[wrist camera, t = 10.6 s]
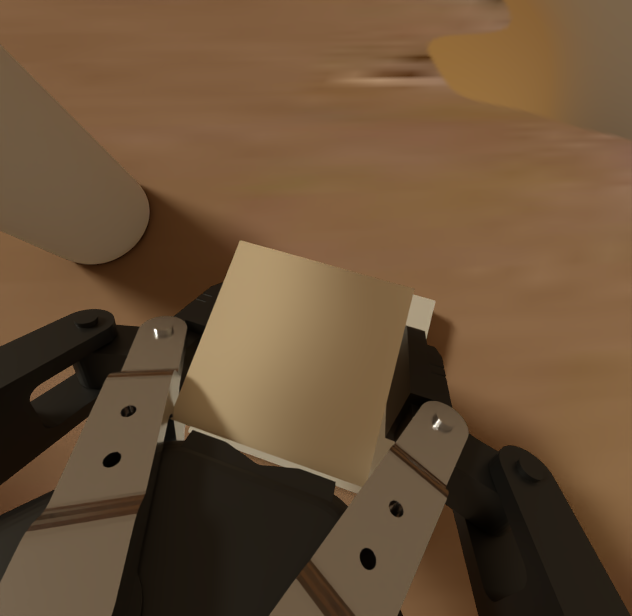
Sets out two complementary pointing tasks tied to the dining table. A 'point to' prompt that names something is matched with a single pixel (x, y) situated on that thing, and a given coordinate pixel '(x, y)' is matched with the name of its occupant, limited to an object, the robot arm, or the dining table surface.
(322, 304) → the maple block
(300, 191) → the dining table surface
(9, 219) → the pill bottle
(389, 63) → the dining table surface
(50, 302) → the dining table surface
